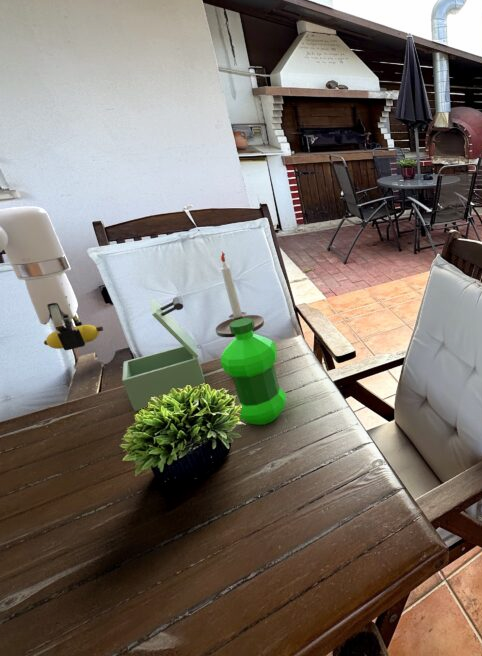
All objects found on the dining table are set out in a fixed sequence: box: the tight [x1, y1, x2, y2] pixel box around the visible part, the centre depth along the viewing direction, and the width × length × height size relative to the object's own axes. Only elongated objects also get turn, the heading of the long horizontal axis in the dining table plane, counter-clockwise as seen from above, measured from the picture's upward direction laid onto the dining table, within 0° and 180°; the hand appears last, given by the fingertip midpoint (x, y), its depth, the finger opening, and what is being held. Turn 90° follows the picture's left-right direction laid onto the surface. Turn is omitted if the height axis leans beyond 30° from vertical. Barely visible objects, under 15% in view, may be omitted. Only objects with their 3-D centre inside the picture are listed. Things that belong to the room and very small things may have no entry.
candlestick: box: [215, 251, 265, 338], centre depth 106 cm, size 11×11×35 cm
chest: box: [121, 345, 206, 412], centre depth 102 cm, size 14×11×9 cm
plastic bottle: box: [220, 318, 287, 426], centre depth 89 cm, size 10×10×25 cm
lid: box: [150, 296, 199, 358], centre depth 102 cm, size 15×11×5 cm
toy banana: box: [43, 324, 104, 350], centre depth 89 cm, size 9×4×4 cm, turn 131°
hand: (76, 342), depth 89 cm, fingers closed on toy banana, 4 cm apart
